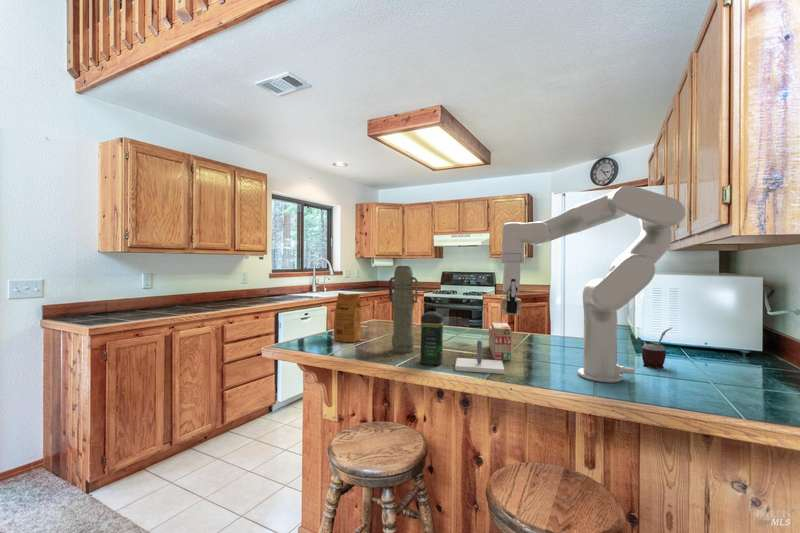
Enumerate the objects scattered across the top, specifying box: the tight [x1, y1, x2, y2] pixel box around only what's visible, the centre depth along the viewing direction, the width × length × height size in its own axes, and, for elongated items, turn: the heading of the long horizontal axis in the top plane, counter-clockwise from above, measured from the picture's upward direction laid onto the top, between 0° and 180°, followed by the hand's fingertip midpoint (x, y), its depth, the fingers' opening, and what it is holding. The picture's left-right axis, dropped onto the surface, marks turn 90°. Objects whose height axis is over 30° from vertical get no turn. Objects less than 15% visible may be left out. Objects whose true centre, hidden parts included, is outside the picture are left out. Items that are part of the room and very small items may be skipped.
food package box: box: [488, 322, 513, 361], centre depth 150 cm, size 21×6×12 cm, turn 172°
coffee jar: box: [419, 310, 444, 366], centre depth 135 cm, size 10×8×19 cm
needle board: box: [454, 339, 505, 375], centre depth 129 cm, size 16×11×10 cm
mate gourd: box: [641, 327, 673, 370], centre depth 131 cm, size 8×8×15 cm
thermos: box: [388, 265, 418, 354], centre depth 152 cm, size 9×12×35 cm
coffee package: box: [333, 292, 362, 343], centre depth 171 cm, size 10×12×22 cm
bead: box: [500, 297, 522, 316], centre depth 126 cm, size 6×6×5 cm
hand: (510, 311), depth 126 cm, fingers closed on bead, 5 cm apart
